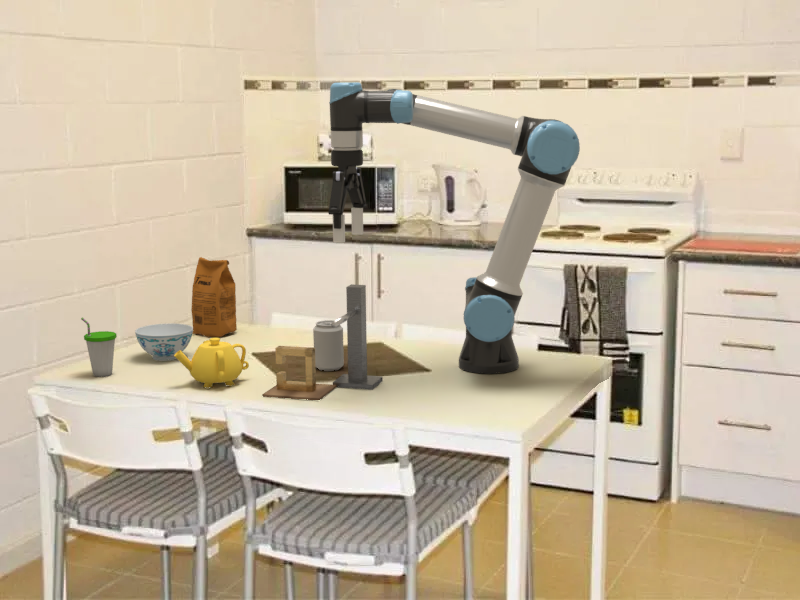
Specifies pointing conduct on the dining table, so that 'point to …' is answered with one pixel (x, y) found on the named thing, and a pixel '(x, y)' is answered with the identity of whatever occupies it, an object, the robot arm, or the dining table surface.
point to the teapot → (215, 362)
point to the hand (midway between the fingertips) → (348, 238)
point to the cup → (100, 351)
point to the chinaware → (164, 339)
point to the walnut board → (301, 392)
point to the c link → (309, 364)
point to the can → (328, 346)
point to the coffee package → (213, 299)
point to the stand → (356, 342)
